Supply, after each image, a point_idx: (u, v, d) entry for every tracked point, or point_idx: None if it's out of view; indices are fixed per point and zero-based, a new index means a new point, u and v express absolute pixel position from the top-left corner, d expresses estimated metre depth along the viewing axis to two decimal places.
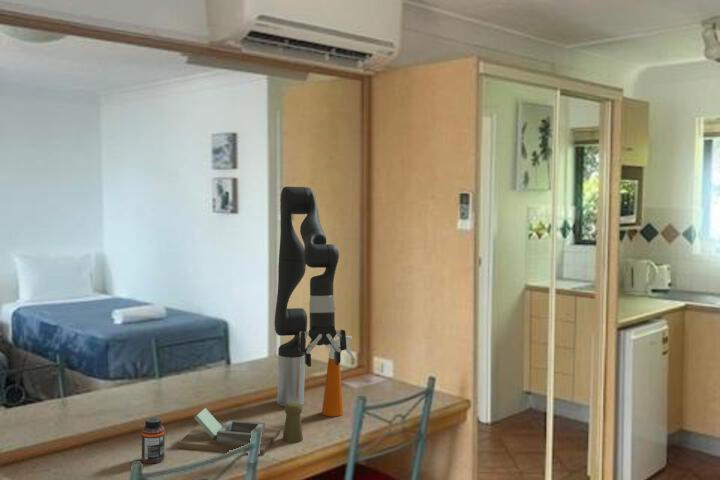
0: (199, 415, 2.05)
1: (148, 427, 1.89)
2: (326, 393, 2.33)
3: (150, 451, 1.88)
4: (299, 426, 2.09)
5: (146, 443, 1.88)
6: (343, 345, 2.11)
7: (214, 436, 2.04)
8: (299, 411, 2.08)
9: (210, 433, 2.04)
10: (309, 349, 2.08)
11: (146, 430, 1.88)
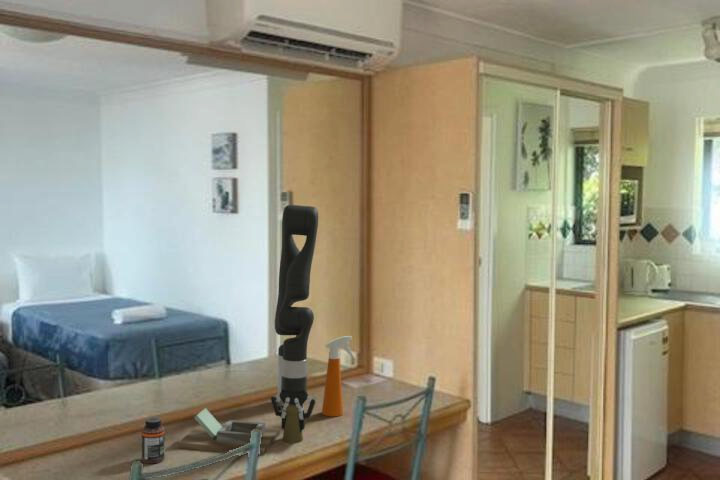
0: (199, 415, 2.05)
1: (148, 427, 1.89)
2: (326, 393, 2.33)
3: (150, 451, 1.88)
4: None
5: (146, 443, 1.88)
6: (306, 413, 2.08)
7: (214, 436, 2.04)
8: None
9: (210, 433, 2.04)
10: (283, 413, 2.09)
11: (146, 430, 1.88)
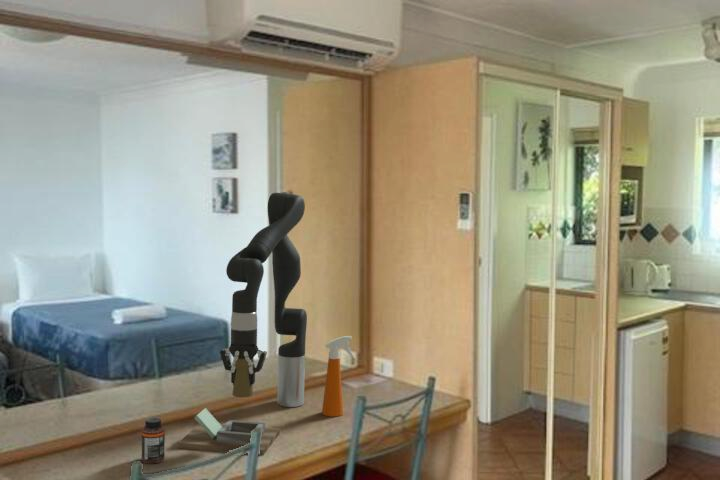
0: (199, 415, 2.05)
1: (148, 427, 1.89)
2: (326, 393, 2.33)
3: (150, 451, 1.88)
4: None
5: (146, 443, 1.88)
6: (256, 367, 2.03)
7: (214, 436, 2.04)
8: None
9: (210, 433, 2.04)
10: (233, 367, 2.04)
11: (146, 430, 1.88)
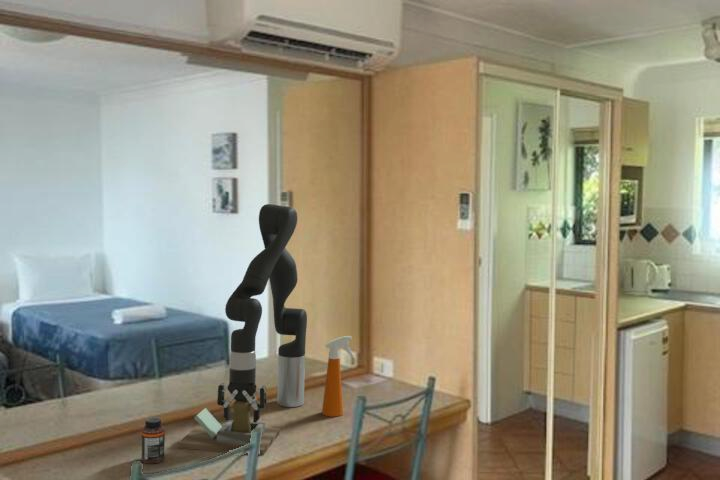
0: (199, 415, 2.05)
1: (148, 427, 1.89)
2: (326, 393, 2.33)
3: (150, 451, 1.88)
4: (247, 424, 2.05)
5: (146, 443, 1.88)
6: (261, 403, 2.03)
7: (214, 436, 2.04)
8: (247, 408, 2.04)
9: (210, 433, 2.04)
10: (226, 403, 2.05)
11: (146, 430, 1.88)
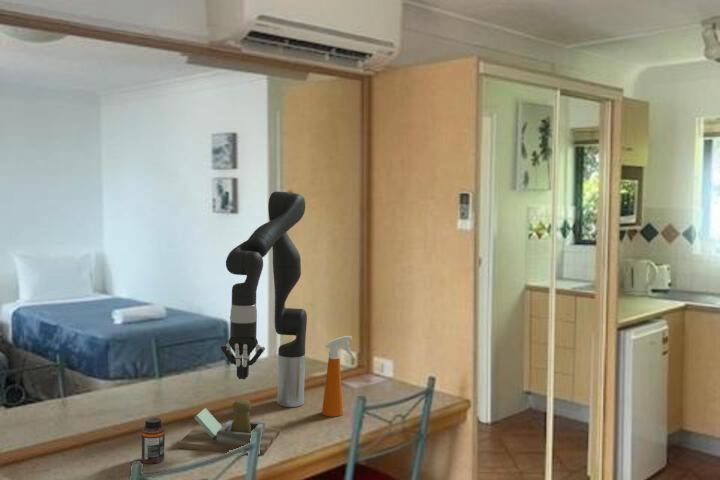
0: (199, 415, 2.05)
1: (148, 427, 1.89)
2: (326, 393, 2.33)
3: (150, 451, 1.88)
4: (247, 424, 2.05)
5: (146, 443, 1.88)
6: (249, 360, 2.03)
7: (214, 436, 2.04)
8: (247, 408, 2.04)
9: (210, 433, 2.04)
10: (237, 361, 2.04)
11: (146, 430, 1.88)
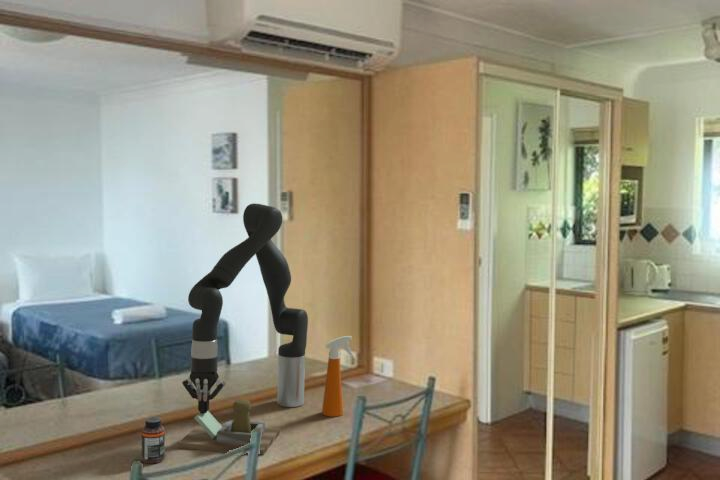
0: (199, 415, 2.05)
1: (148, 427, 1.89)
2: (326, 393, 2.33)
3: (150, 451, 1.88)
4: (247, 424, 2.05)
5: (146, 443, 1.88)
6: (209, 395, 2.05)
7: (214, 436, 2.04)
8: (247, 408, 2.04)
9: (210, 433, 2.04)
10: (199, 396, 2.06)
11: (146, 430, 1.88)
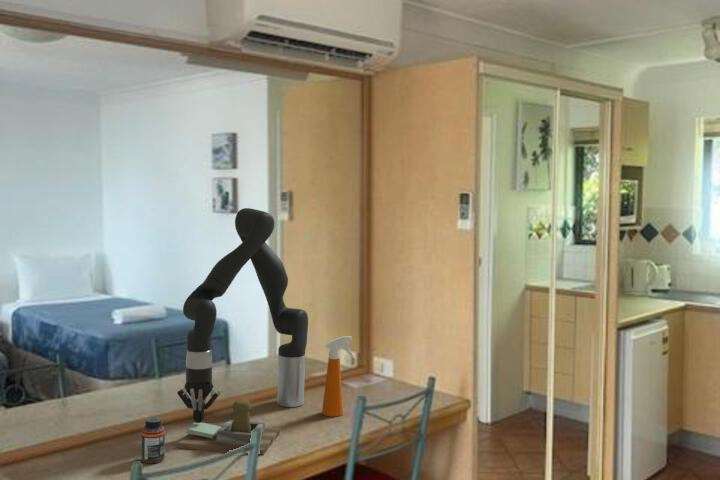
0: (190, 428, 2.06)
1: (148, 427, 1.89)
2: (326, 393, 2.33)
3: (150, 451, 1.88)
4: (247, 424, 2.05)
5: (146, 443, 1.88)
6: (204, 405, 2.07)
7: (212, 435, 2.04)
8: (247, 409, 2.04)
9: (207, 435, 2.04)
10: (194, 405, 2.08)
11: (146, 430, 1.88)
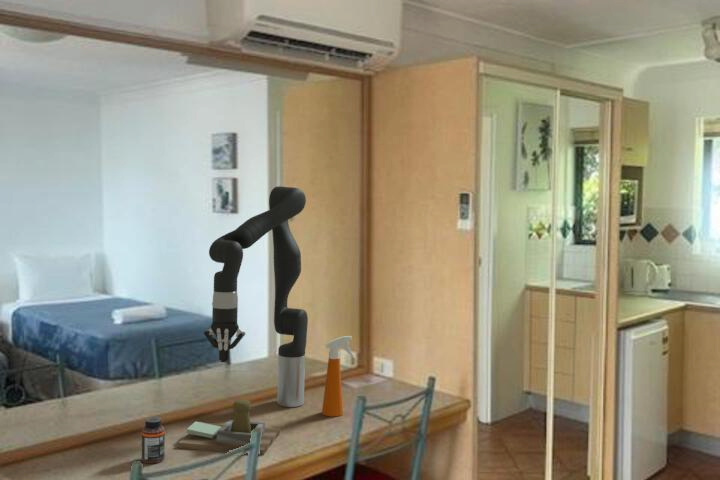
0: (190, 428, 2.06)
1: (148, 427, 1.89)
2: (326, 393, 2.33)
3: (150, 451, 1.88)
4: (247, 424, 2.05)
5: (146, 443, 1.88)
6: (230, 344, 2.14)
7: (212, 435, 2.04)
8: (247, 409, 2.04)
9: (207, 435, 2.04)
10: (220, 345, 2.15)
11: (146, 430, 1.88)
